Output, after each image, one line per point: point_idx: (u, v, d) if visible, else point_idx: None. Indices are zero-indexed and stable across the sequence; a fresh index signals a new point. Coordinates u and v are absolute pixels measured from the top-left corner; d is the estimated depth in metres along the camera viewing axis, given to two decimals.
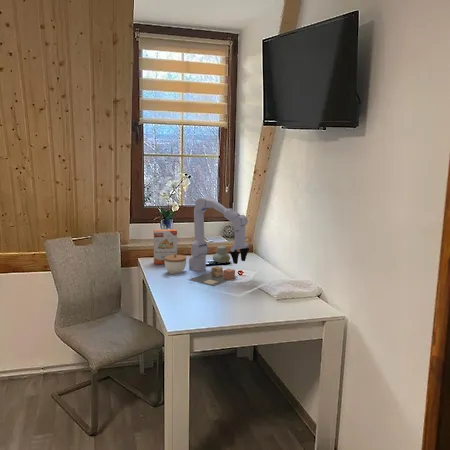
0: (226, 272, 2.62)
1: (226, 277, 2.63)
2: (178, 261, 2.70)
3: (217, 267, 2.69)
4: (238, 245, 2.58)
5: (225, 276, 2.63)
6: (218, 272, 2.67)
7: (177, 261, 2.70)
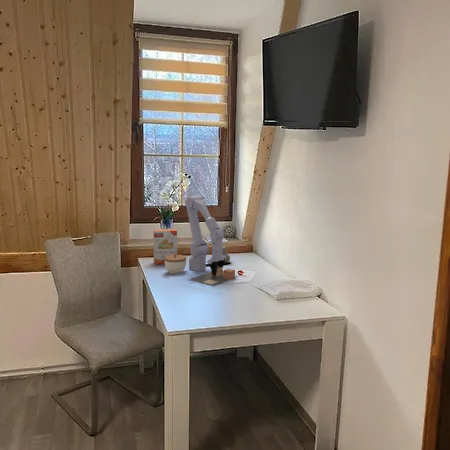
0: (226, 272, 2.62)
1: (226, 277, 2.63)
2: (178, 261, 2.70)
3: (217, 267, 2.69)
4: (215, 257, 2.65)
5: (225, 276, 2.63)
6: (218, 272, 2.67)
7: (177, 261, 2.70)
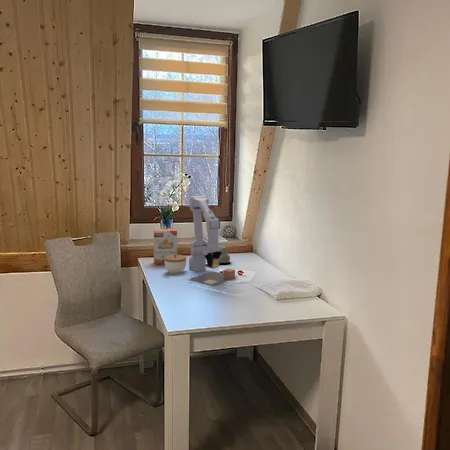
0: (226, 272, 2.62)
1: (226, 277, 2.63)
2: (178, 261, 2.70)
3: (213, 259, 2.58)
4: (211, 248, 2.55)
5: (225, 276, 2.63)
6: (214, 264, 2.56)
7: (177, 261, 2.70)
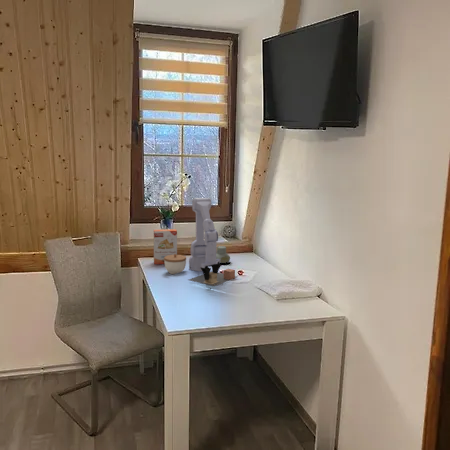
0: (226, 272, 2.62)
1: (226, 277, 2.63)
2: (178, 261, 2.70)
3: (211, 273, 2.56)
4: (209, 261, 2.52)
5: (225, 276, 2.63)
6: (212, 278, 2.54)
7: (177, 261, 2.70)
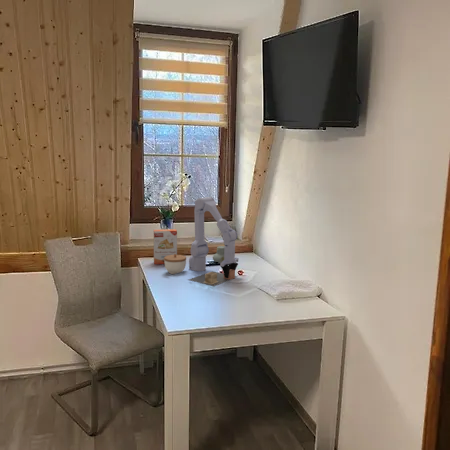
0: None
1: None
2: (178, 261, 2.70)
3: (211, 273, 2.56)
4: (228, 260, 2.60)
5: None
6: (212, 278, 2.54)
7: (177, 261, 2.70)
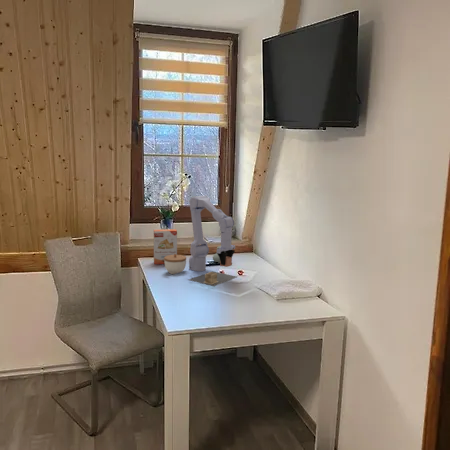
0: None
1: None
2: (178, 261, 2.70)
3: (211, 273, 2.56)
4: (224, 247, 2.57)
5: None
6: (212, 278, 2.54)
7: (177, 261, 2.70)
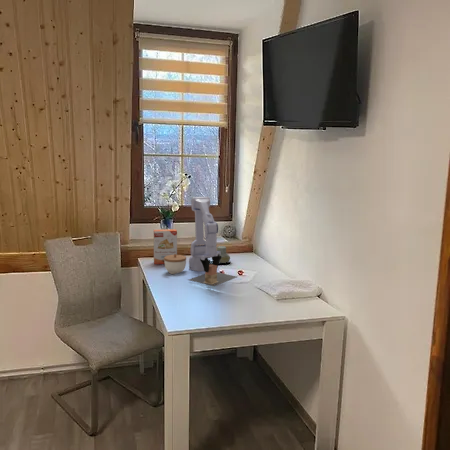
0: None
1: (208, 273, 2.55)
2: (178, 261, 2.70)
3: None
4: (209, 253, 2.52)
5: (207, 272, 2.55)
6: (212, 278, 2.54)
7: (177, 261, 2.70)
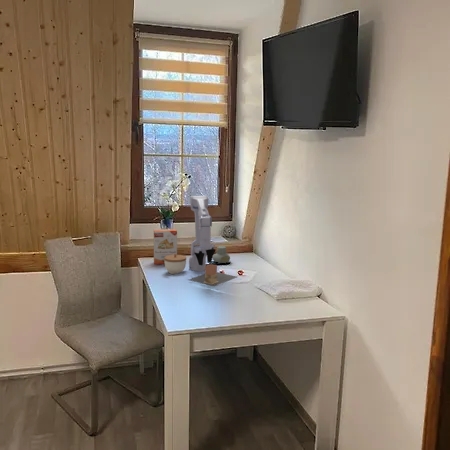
0: (208, 267, 2.54)
1: (208, 273, 2.55)
2: (178, 261, 2.70)
3: None
4: (203, 246, 2.53)
5: (207, 272, 2.55)
6: (212, 278, 2.54)
7: (177, 261, 2.70)
